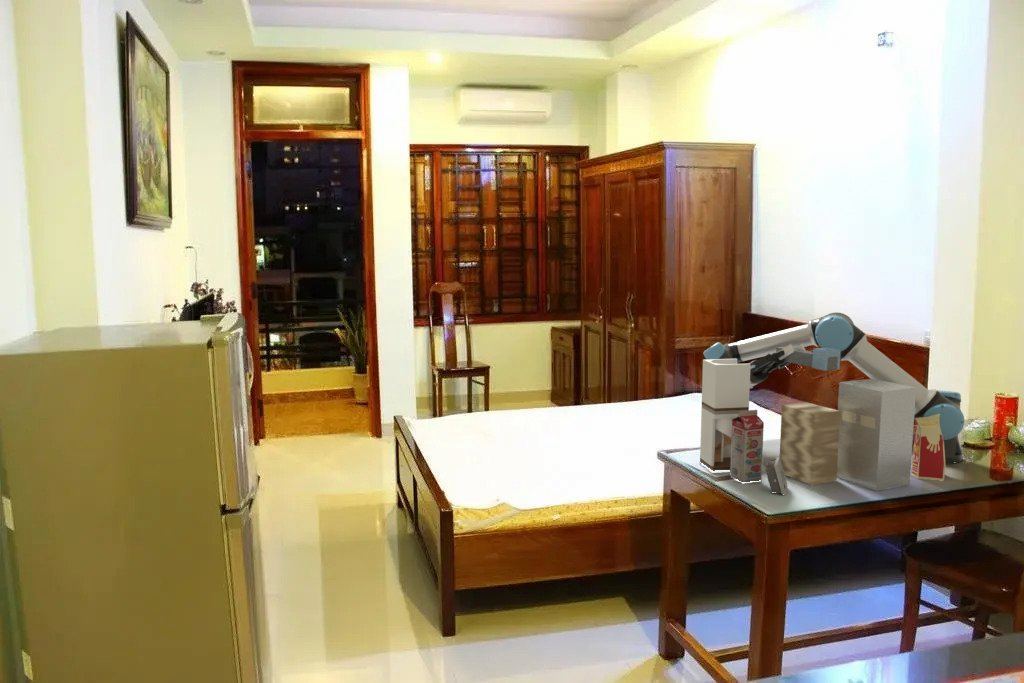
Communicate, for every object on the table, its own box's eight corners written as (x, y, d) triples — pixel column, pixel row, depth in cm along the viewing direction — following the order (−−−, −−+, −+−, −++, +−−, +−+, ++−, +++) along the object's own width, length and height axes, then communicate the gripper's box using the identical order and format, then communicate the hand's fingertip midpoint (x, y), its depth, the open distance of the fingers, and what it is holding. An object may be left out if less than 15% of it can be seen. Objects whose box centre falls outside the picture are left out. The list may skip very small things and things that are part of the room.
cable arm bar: (773, 359, 262) (774, 341, 261) (787, 358, 264) (788, 340, 263) (824, 370, 242) (825, 350, 241) (839, 369, 244) (840, 349, 243)
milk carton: (939, 472, 255) (943, 411, 252) (945, 481, 246) (950, 417, 243) (907, 470, 258) (911, 409, 255) (912, 478, 249) (917, 415, 246)
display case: (712, 473, 255) (716, 365, 250) (699, 463, 266) (702, 359, 261) (746, 471, 257) (750, 363, 252) (732, 462, 267) (736, 358, 262)
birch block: (778, 472, 256) (781, 405, 253) (802, 468, 260) (805, 402, 257) (811, 485, 243) (815, 414, 240) (836, 480, 247) (840, 410, 244)
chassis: (833, 476, 252) (838, 382, 248) (866, 470, 257) (872, 378, 253) (875, 491, 237) (881, 391, 233) (909, 484, 243) (916, 387, 239)
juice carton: (730, 478, 250) (732, 409, 247) (748, 475, 253) (750, 407, 250) (743, 484, 244) (745, 413, 241) (761, 481, 246) (764, 411, 243)
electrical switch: (785, 496, 233) (783, 465, 232) (766, 496, 235) (764, 465, 234) (787, 487, 242) (785, 457, 241) (769, 486, 244) (767, 456, 243)
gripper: (776, 382, 278) (822, 357, 258) (736, 385, 271) (780, 360, 251) (769, 361, 280) (814, 335, 260) (729, 365, 273) (773, 338, 253)
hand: (797, 348), depth 255 cm, fingers closed on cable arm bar, 4 cm apart
